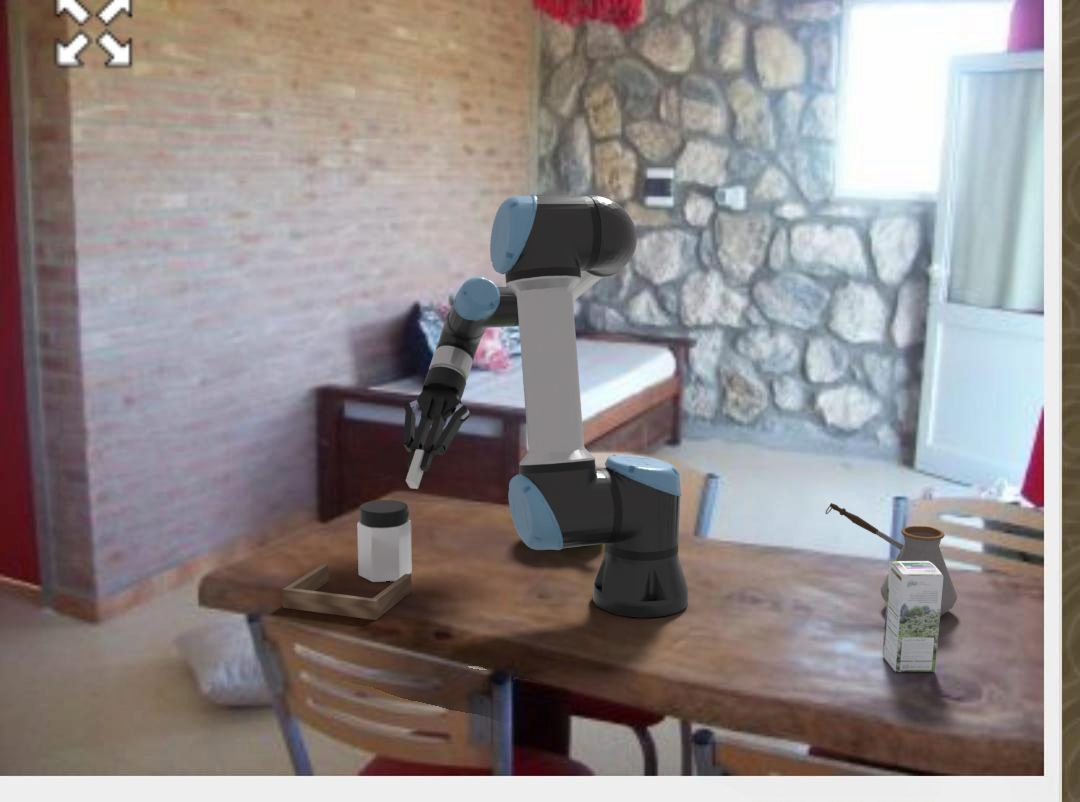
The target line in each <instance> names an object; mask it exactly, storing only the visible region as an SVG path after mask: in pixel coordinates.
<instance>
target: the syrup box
mask: <svg viewBox="0 0 1080 802" xmlns="http://www.w3.org/2000/svg"><path fill="white" fill-rule="evenodd" d="M887 575H888V587H887V601H886V602H885V618H884V631H883V642H882V643H883V645H882V658H883V659H884V660H885V661H886V663H887V664H888V665H889V666H890V667H891V668H892V670H893V671H894V673H935V672H936V667H937V652H938V643H939V632H940V622H941V621H940V619H941V617H940V610H941V599H942V588H943V575H942V573H941V572H940V571H939V570H938V569H937V567H936V566H935V565H933V564H932V563H931V562H929V561H895V560H891V561H889V562H888V573H887Z"/></svg>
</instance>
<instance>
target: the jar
mask: <svg viewBox="0 0 1080 802" xmlns="http://www.w3.org/2000/svg"><path fill="white" fill-rule="evenodd" d="M409 511H410V510H409V506H408V504H407V503H406V502H404V501H400V500H394V499H379V500H372V501H367V502H364V503H361V505H360V506H359V521H358V522H357V525H356V529H357V561H358V562H357V564H358V567H357V569H358V576H360V578H361V577H362V578H364V579H366V580H367V581H370V582H372V583H383V582H384V583H386V581H390V582H395V581H396V580H398V579H399V578H400V577H402V576H403V575H404V574H412V573H413V572H412V571H413V567H412V565H413V564H412V563H413V562H412V560H413V559H412V557H413V556H412V521H411V519H409V516H410V514H409V513H410V512H409Z"/></svg>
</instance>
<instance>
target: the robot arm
mask: <svg viewBox="0 0 1080 802" xmlns="http://www.w3.org/2000/svg"><path fill="white" fill-rule="evenodd" d="M637 235H638V234H637V230H636V227H635V223H634V221H633V220H632V217H631V216H630V214H629V213H628V212H627V211H626V209H624V208H623V207H622V206H621V205H620V204H618V203H617V202H615V201H613V200H611V199H609V198H607V197H605V196H600V195H594V194H593V195H590V194H589V195H563V194H562V195H559V194H557V195H556V194H555V195H553V194H552V195H551V194H530V195H522V196H521V195H520V196H518V195H517V196H511V197H508V198H506V199H505V200H504V201H503V202H501V204H500V206H499V207H498V209H497V211H496V215H495V216H494V220H493V222H492V227H491V234H490V245H489V246H490V250H489V251H490V252H489V253H490V261H491V263H492V265H491V266H492V268H493V270H494V271H495V272H496V273H499V274H500V275H504V274H505V286H497V285H496V284H495V282H493V281H492V280H490V279H487V278H485V277H483V276H474V277H471V278H468V279H467V280H466V281H464V283H462V285H461V286H460V288H459V289H458V291H457V293H456V294H455V296H454V301H453V303H452V305H451V306H450V307H449V310H448V312H447V314H446V316H445V318H444V324H443V326H442V330H441V332H440V335H439V339H438V342H437V346H436V348H435V351H434V352H433V353H434V354H433V356H432V359H431V360H430V361H431V362H430V365H429V366H428V367H429V368H428V371H427V374H426V375H425V376H426V377H425V379H424V383H423V385H422V390H421V393H420V394H419V395H418V396H417V397H416V399H415V400H413V401H411V402H410V401H409V400H405V401H403V409H404V411H405V415H404V416H405V417H404V428H403V439H402V440H403V441H402V444H403V446H404V448H405V449H406V451H407V452H408V453H409V456H408V459H407V462H406V466H407V468H408V472H407V476H406V479H405V482H406V483H407V485H408V487H409V489H414V490H415V489H416V490H418V489H419V486H420V484H421V481H422V478H423V475H424V472H428V471H429V470H430V468H431V467H430V466H431V464H432V461H433V458H434V457H435V456H436V455H439V456H443V455H445V453H446V452H447V450H448V449H449V447H450V445H451V444H452V442H453V439H455V438H456V437H455V436H456V435H457V433H458V432H459V431H460V428H462V427H461V426H462V425H463V423H465V421H467V420H468V419H469V418H470V417H471V413H470V411H469V409H468V406H467V405H463V404H462V403H463V402H462V398H463V395H464V393H465V388H466V386H467V381H468V379H469V376H470V373H471V369H472V367H473V363H474V360H475V356H476V354H477V350H478V347H479V345H480V343H481V340H482V338H483V335H484V334H485V332H486V330H487V329H488V328H491V329H492V328H507V327H509V328H510V327H513V328H514V327H518V329H519V330H518V331H519V332H518V333H519V341H520V342H519V344H520V355H521V356H520V357H521V368H522V369H521V371H522V383H523V393H524V395H523V397H524V411H525V423H526V424H525V425H526V435H527V448H528V449H527V450H528V451H527V453H526V455H525V456H524V457H523V458H522V459H521V461H520V462H519V473H518V474H516V475H514V476H512V478H511V479H510V481H509V484H508V488H509V490H508V492H507V493H508V495H507V496H508V506H509V510H510V511H509V512H510V514H511V515H510V516H511V519H512V522H513V524H514V528H515V530H516V533H517V534H518V536H519V537H520V539H521V541H522V542H523V543H524V544H525V545H526V546H527V547H528V548H530V549H531V550H534V551H535V550H536V551H545V550H554V551H560V550H562V549H566V548H577V547H584V546H594V545H604V554H603V557H602V560H601V563H600V566H599V569H598V572H597V574H596V578H595V579H594V583H593V587H592V601H593V604H594V605H595V606H597V607H598V608H599V609H601V610H603V611H605V612H608V613H611V614H614V615H619V616H623V617H628V618H629V617H632V618H659V617H661V618H662V617H667V616H670V615H674V614H678V613H680V612H681V611H683V610H684V609H686V608H687V607H688V605H689V588H688V587H689V586H688V585H687V580H686V577H685V573H684V571H683V567H682V565H681V561H680V557H679V545H680V542H679V539H680V513H681V512H680V510H681V496H682V492H681V491H682V490H681V477H680V473H679V471H678V469H677V468H676V466H674V465H673V464H672V463H670V462H667V461H664V460H661V459H657V458H654V457H648V456H643V455H634V454H632V455H631V454H613V455H610V456H609V455H608V457H607V458H606V460H605V462H604V466H605V467H603V468H596V457H595V456H594V455H593V454H592V453H590V451H588V449H586V447H585V443H584V439H585V438H584V428H583V414H582V413H583V412H582V402H581V400H582V399H581V388H580V386H581V385H580V377H579V375H580V374H579V361H578V351H577V350H578V349H577V348H578V347H577V336H576V325H575V324H576V322H575V309H574V308H575V307H574V302H575V301H576V300H578V298H580V297H581V296H582V295H583V294H584V293H586V292H587V291H588V290H589V289H590V288H592V287H593V286H594V285H595V284H596V283H598V282H599V280H601V279H602V278H608V277H609V278H610V277H612V276H614V275H617V274H618V273H619V272H620V271H621V270H622V269H624V268H625V267H626V266H627V264H629V262H630V261H631V259H632V258H633V256H634V254H635V252H636V248H637V242H638V237H637ZM418 408H419V409H420V411H421V413H420V419H419V422H418V426H417V429H416V414H418ZM449 418H450V420H448V419H449ZM447 421H448V422H447ZM415 430H416V431H415Z"/></svg>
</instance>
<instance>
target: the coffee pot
mask: <svg viewBox="0 0 1080 802" xmlns="http://www.w3.org/2000/svg"><path fill="white" fill-rule="evenodd" d="M832 510H834V511H837V512H838V513H839V515H840V516H844V517H846V518H847V519H848V520H849V521H850V522H852V523H853V524H855V525H857V526H859V527H860V528H862V529H864V530H865V531H868V532H870V533H872V534H874V535H876V536H878V537H879V538H881V539H883V540H884V541H886V542H888V544H891V545H892V546H894V547H895V548H896V549H898V550H900V552H899V553H898V555H897V557H896V558H895V560H894V561H929V562H931V563H932V564H933V565H935V566H936V567H937V569H938V570H939V571H940V572H941V573H942V575H943V588H942V599H941V610H940V618H941V617H942V616H944V614H945V613H947V612H949V611H950V610H951V609H953V607H954V606H955V604H956V602H957V601H958V595H957V592H956V589H955V586H954V583H953V581H952V579H951V576H950V573H949V570H948V567H947V565H946V562H945V559H944V556H943V553H942V551H941V547H940V545H941V541H942V539H944V537H945V532H944V531H942V530H941V529H938V528H935V527H932V526H926V525H924V526H923V525H911V526H904V527H902V528H901V530H900V533H901V534H902V535H903V538H904V543H902V542H900V541H898V540H896V539H895V538H893V537H891V536H889V535H887V534H885V533H884V532H882V531H881V530H879V529H878V528H876V526H875V527H874V525H872V524H870V523H869V522H868V521H866V520H865V519H863V518H861V517H860V516H858V515H856V514H853V513H851V512H849V511H847V510H846V508H845V507H843V508H841V507H840V506H839V505H837V504H835V503H832V502H831V503H830V504H829V506H828V507H827V509H825V512H824V513H825V515H828V514H829V513H830V512H831V511H832ZM887 587H888V574H887V575H886V577H885V579H884V581H883V583H882V585H881V586H880V594H881V597H882V599H883V600H884V601H885V603H886V601H887Z"/></svg>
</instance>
